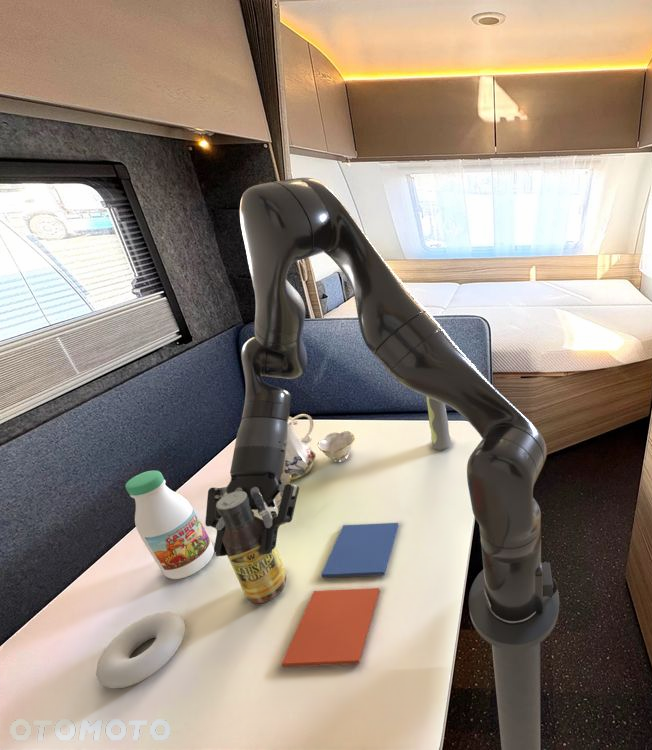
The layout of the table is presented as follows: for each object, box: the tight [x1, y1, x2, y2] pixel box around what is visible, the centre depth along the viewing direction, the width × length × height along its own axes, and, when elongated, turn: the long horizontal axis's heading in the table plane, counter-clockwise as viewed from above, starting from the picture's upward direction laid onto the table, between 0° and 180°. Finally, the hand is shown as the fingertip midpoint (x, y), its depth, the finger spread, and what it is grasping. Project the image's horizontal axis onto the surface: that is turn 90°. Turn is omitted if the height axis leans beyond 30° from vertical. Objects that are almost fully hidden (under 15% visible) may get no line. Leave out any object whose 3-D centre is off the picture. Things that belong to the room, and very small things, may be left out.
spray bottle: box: [425, 396, 452, 451], centre depth 97 cm, size 5×5×20 cm
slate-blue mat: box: [320, 522, 399, 578], centre depth 72 cm, size 11×11×1 cm
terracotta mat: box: [281, 587, 381, 668], centre depth 60 cm, size 11×11×1 cm
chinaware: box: [274, 413, 356, 508], centre depth 90 cm, size 28×17×17 cm, turn 154°
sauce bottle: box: [216, 491, 287, 604], centre depth 62 cm, size 7×6×20 cm
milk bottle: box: [125, 470, 215, 580], centre depth 67 cm, size 8×8×20 cm
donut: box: [95, 611, 186, 689], centre depth 57 cm, size 10×4×10 cm
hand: (244, 554), depth 60 cm, fingers closed on sauce bottle, 6 cm apart
